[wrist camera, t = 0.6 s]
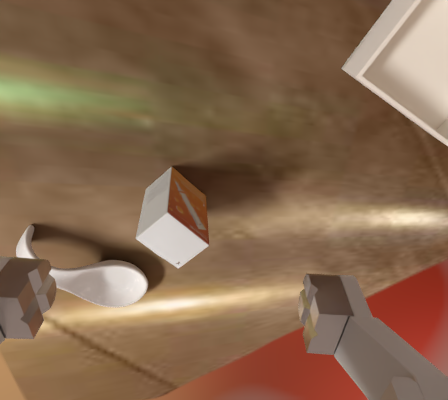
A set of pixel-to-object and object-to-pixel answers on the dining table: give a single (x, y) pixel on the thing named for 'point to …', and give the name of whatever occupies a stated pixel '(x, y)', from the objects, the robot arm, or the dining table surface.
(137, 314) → the dining table surface
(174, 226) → the small box
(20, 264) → the robot arm
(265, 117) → the dining table surface
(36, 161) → the dining table surface
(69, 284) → the spoon rest
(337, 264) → the dining table surface
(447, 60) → the tray
